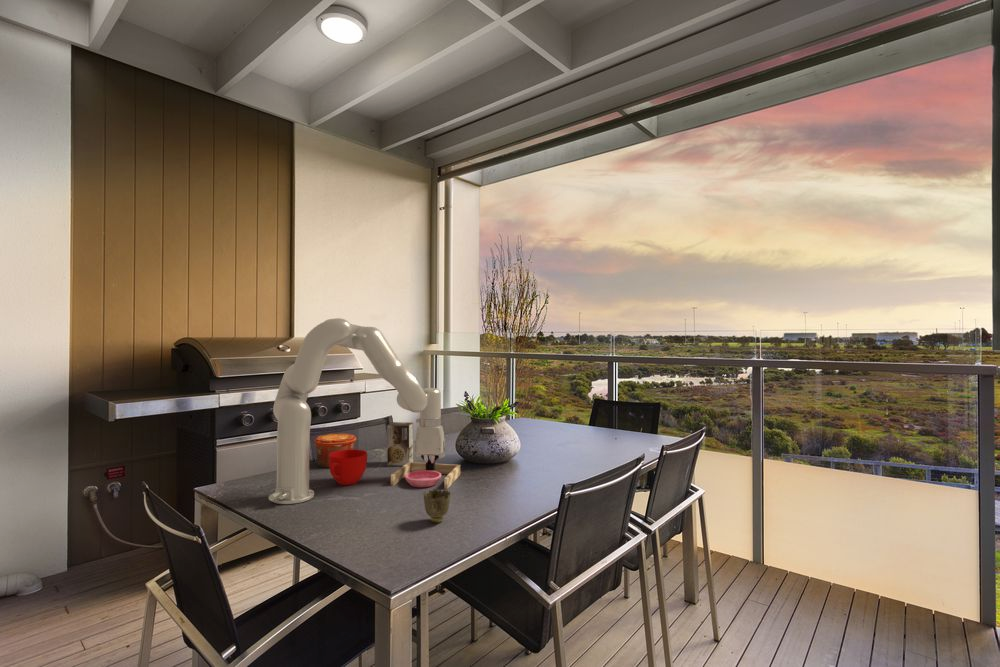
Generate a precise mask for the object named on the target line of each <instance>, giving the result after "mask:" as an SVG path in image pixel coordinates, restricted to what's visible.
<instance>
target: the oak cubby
mask: <svg viewBox="0 0 1000 667" xmlns="http://www.w3.org/2000/svg"><path fill="white" fill-rule="evenodd" d="M421 470H426V463H425V462H418V461H415V462H414V461H413V462H408V463H407V464H406V465H404V466H400V468H399V469H397V470H396V471H395V472H393V473H391V475H390V486H393V487H394V486H395V485H396V484H397V483H399V482H400V481H401V480H402V479H404V478H405V475H406V474H408V473H410V472H414V471H421ZM435 471H437V472H439V473H441V475H446V477H444V482H443V484H444V485H443V486H444V487H443V488H444V489H445V490H448V489H449V488H450V487H451V485H452V484H453V483H454V482H455V481H456V480H457V479H458V478H459V477H460V476H461V464H451V463H450V464H449V463H436V462H435Z"/></svg>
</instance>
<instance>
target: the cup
mask: <svg viewBox="0 0 1000 667" xmlns="http://www.w3.org/2000/svg"><path fill="white" fill-rule="evenodd" d="M428 490H429V491H428V492H427V493H426V491H424V492H423V502H424V510H425V513H426V515H427V516H429V517H430V518H429V520H430V522H431V523H433V524H439V523H442V522H443V520H444V516H445V515H446V514H447V513H448V510H449V508H450V507H449V506H450V500H451V492H450V491H448V490H446V489H444V490H441V488H440V489H439V490H438V489H436V488H434V489H433V490H431V489H428Z"/></svg>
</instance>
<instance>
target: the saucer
mask: <svg viewBox="0 0 1000 667" xmlns="http://www.w3.org/2000/svg"><path fill="white" fill-rule="evenodd" d="M404 478H405V480H406V482H407V483H408V484H409V485H410V486H411V487H414V488H429V487H433V486H435V485H437V483H438V482H439V481H441V478H442V474H441V473H439V472H437V471H431V470H421V471H414V472H410V473H408V474H406V475H405V477H404Z"/></svg>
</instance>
